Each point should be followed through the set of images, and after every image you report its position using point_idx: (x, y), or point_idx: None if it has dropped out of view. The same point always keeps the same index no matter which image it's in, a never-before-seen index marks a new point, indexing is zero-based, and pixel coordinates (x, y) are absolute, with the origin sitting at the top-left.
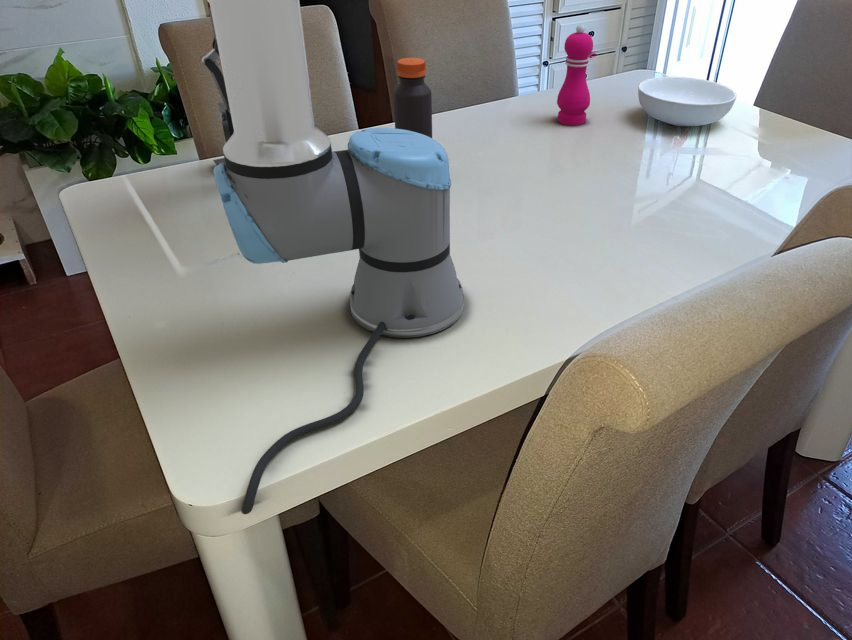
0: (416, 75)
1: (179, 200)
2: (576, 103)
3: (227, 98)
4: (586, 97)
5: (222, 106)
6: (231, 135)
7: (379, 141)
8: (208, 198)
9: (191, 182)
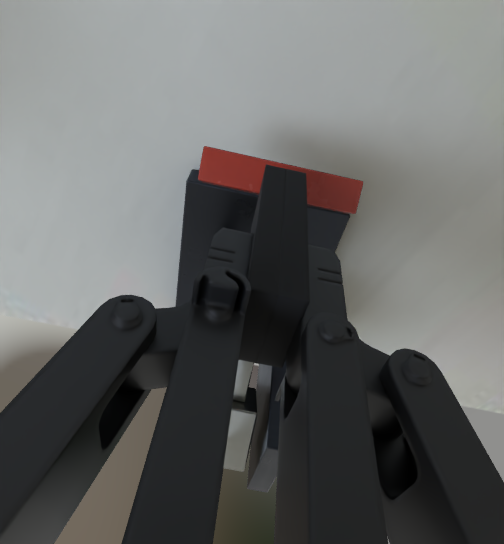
0: None
1: (499, 246)
2: None
3: (494, 507)
4: None
5: (276, 472)
6: None
7: None
8: (442, 205)
9: (389, 309)
